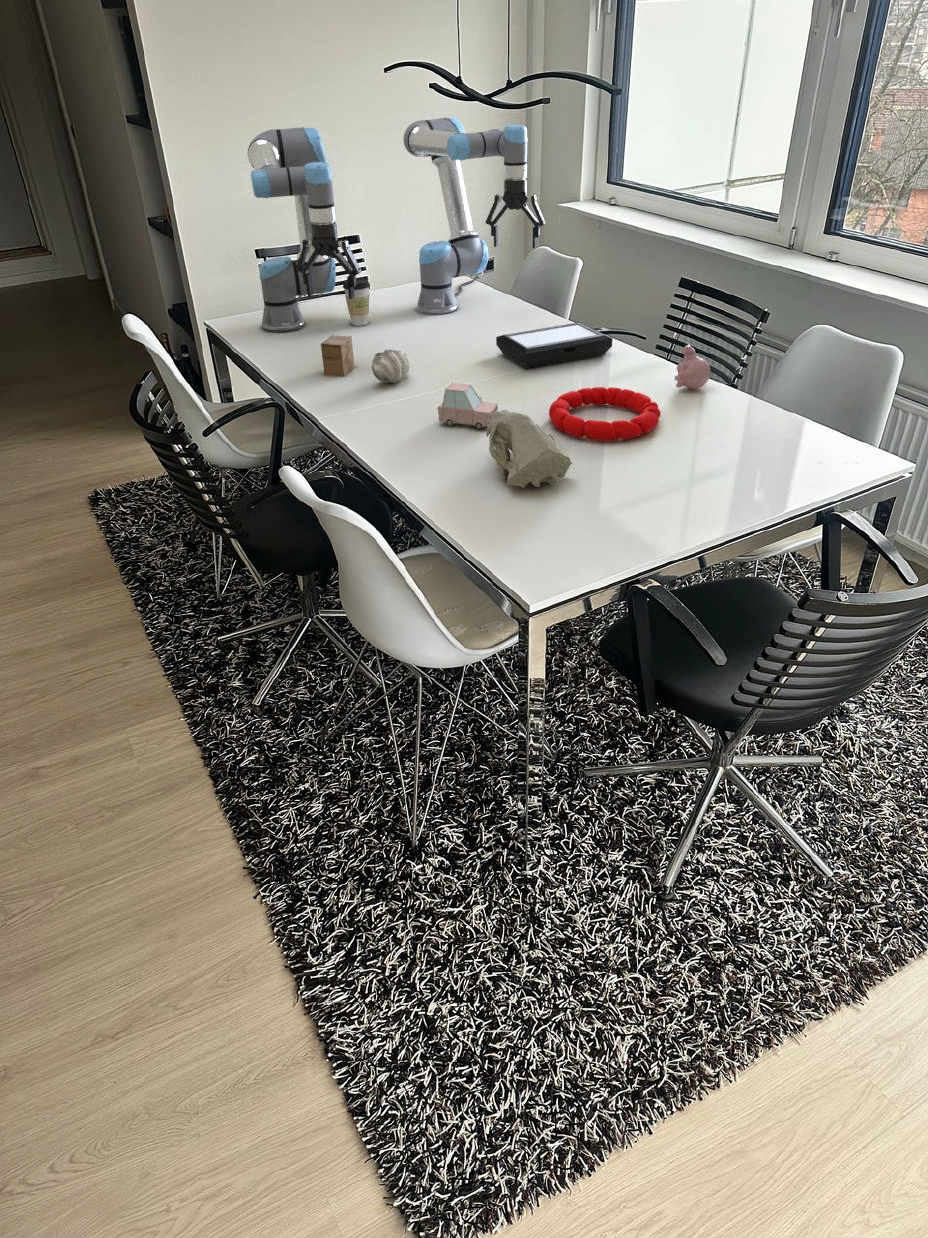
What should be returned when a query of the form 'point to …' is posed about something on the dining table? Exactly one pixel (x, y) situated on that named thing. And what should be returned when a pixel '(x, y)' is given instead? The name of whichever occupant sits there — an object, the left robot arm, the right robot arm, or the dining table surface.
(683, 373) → the figurine
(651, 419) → the decorative ring
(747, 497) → the dining table surface
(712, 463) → the dining table surface
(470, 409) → the toy car
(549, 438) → the grey rough stone chunk
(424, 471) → the dining table surface
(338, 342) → the block
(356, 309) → the coffee cup
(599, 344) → the electronic device
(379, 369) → the seashell
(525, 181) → the right robot arm
